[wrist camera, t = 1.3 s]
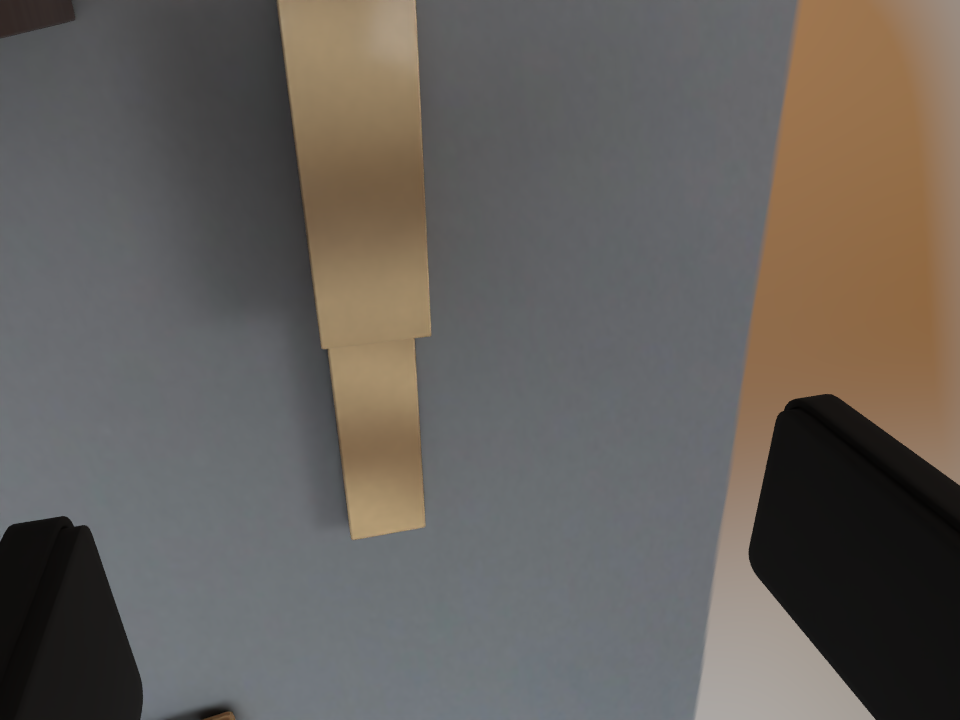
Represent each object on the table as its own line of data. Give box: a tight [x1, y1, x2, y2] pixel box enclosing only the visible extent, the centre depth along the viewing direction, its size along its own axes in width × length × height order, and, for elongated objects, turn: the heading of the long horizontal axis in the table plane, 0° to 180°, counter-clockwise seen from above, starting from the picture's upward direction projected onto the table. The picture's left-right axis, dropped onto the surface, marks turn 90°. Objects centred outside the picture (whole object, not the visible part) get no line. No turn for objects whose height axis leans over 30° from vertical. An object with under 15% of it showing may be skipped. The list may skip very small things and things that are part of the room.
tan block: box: [276, 0, 431, 540], centre depth 22 cm, size 18×3×3 cm, turn 1°
